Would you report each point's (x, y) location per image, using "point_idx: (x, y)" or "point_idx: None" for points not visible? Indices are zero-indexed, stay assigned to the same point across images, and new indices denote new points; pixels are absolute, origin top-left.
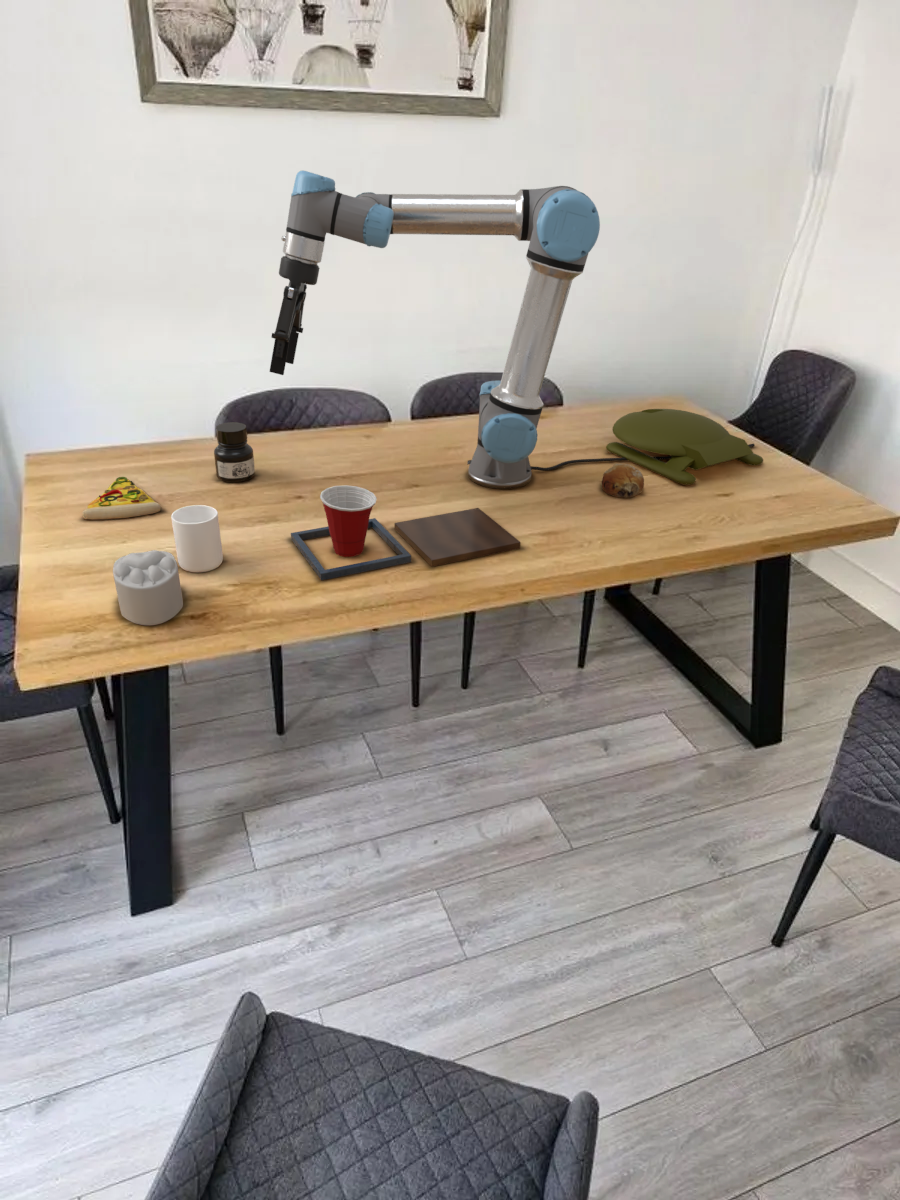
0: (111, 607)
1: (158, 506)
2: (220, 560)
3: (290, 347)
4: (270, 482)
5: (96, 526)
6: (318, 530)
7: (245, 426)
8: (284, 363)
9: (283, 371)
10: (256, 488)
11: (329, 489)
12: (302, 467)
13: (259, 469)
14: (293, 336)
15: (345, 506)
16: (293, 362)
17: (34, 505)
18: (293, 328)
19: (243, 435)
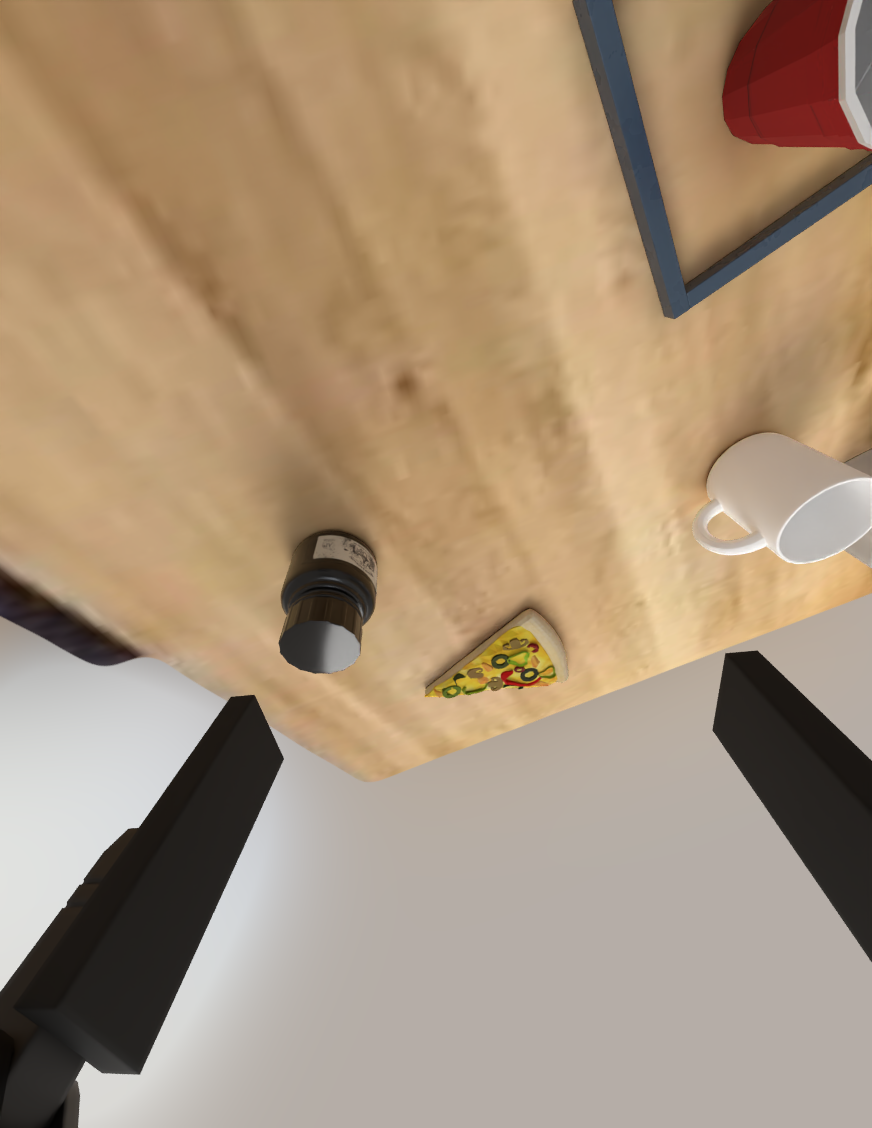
0: None
1: (534, 615)
2: (777, 434)
3: (205, 832)
4: (339, 487)
5: (584, 651)
6: (669, 233)
7: (299, 625)
8: (828, 726)
9: (778, 671)
10: (384, 503)
11: (869, 128)
12: (208, 446)
13: (277, 535)
14: (125, 961)
15: (799, 64)
16: (229, 703)
17: (521, 725)
18: (23, 1101)
19: (328, 609)
